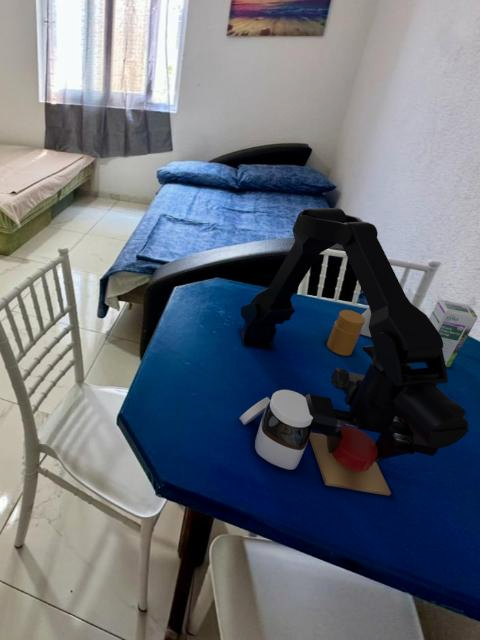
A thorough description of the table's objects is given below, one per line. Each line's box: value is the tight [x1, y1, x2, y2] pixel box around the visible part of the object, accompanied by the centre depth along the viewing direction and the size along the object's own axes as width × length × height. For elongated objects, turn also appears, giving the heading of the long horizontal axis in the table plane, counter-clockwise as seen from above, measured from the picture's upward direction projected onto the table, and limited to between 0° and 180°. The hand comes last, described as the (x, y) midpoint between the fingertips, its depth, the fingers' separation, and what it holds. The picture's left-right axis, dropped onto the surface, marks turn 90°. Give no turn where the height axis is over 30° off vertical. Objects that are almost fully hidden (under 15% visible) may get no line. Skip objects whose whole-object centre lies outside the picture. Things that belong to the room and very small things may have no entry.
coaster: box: [309, 432, 392, 497], centre depth 72 cm, size 10×10×1 cm
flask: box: [360, 307, 371, 338], centre depth 103 cm, size 7×7×10 cm
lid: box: [332, 426, 378, 472], centre depth 70 cm, size 6×6×3 cm
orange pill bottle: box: [326, 309, 365, 356], centre depth 97 cm, size 6×6×10 cm
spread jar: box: [238, 389, 313, 471], centre depth 72 cm, size 12×11×12 cm
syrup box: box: [428, 298, 478, 368], centre depth 94 cm, size 6×6×14 cm
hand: (349, 455), depth 71 cm, fingers closed on lid, 6 cm apart
